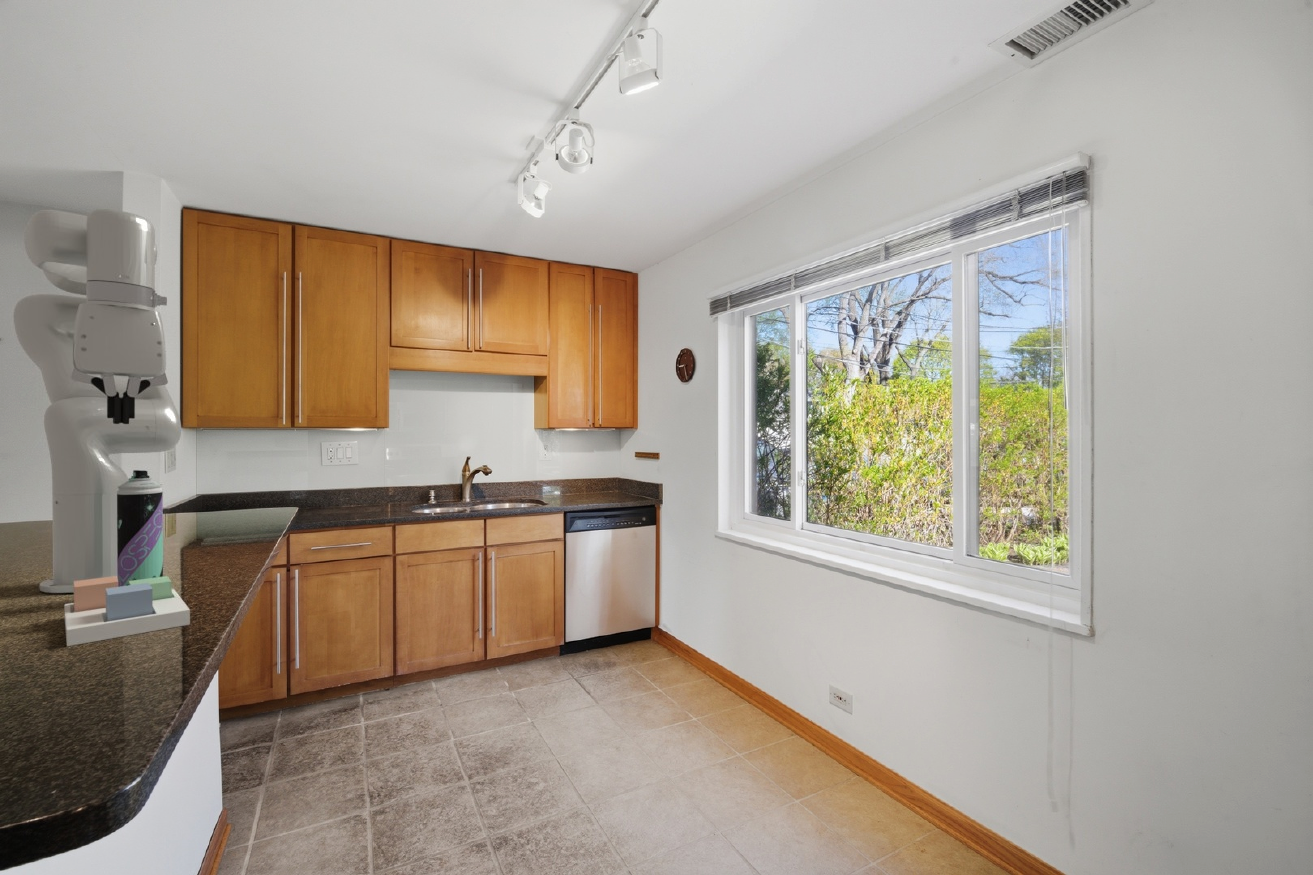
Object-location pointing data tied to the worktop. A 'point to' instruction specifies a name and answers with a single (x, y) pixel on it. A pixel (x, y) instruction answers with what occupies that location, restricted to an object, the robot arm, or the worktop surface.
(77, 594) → the terracotta key
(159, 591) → the sage key
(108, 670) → the worktop surface
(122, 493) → the spray can
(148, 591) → the slate key
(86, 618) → the key console
